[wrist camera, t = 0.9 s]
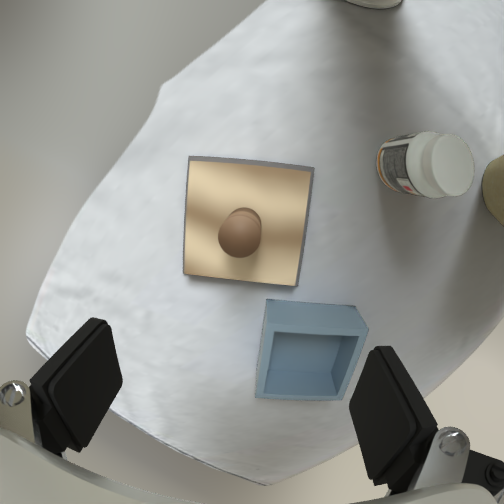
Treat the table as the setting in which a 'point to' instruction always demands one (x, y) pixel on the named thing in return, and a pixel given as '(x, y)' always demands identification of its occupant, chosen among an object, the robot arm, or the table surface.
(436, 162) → the pill bottle
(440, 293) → the table surface
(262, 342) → the blue square bin
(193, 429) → the table surface
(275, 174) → the lid
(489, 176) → the plant pot
